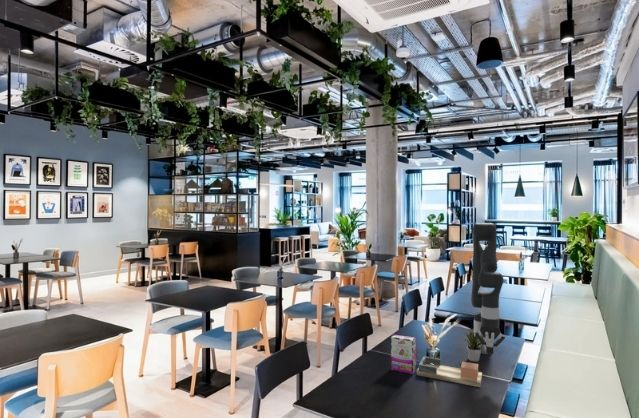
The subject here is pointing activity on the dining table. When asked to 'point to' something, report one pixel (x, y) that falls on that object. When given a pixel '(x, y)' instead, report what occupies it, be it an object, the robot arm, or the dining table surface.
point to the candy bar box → (403, 354)
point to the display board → (445, 372)
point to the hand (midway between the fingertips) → (489, 354)
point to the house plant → (473, 346)
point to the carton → (469, 370)
